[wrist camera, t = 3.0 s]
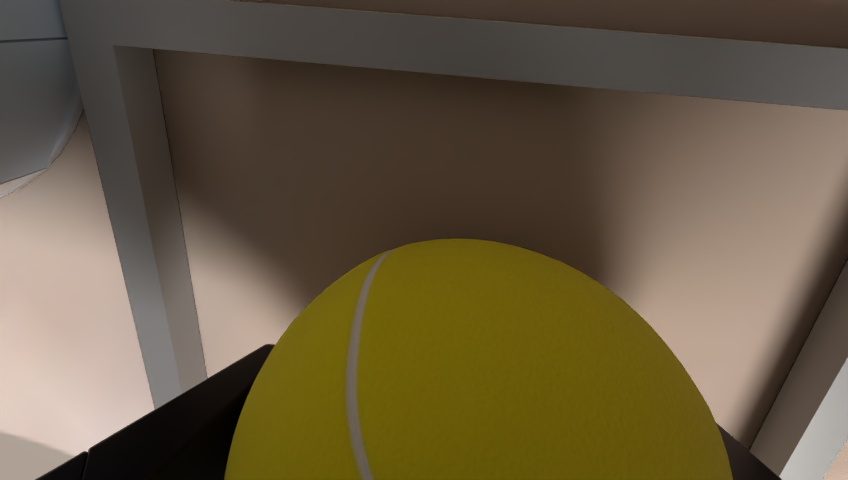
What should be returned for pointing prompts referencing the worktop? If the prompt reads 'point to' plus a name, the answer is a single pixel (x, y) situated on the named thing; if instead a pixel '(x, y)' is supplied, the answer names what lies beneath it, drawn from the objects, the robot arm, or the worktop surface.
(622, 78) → the grey square frame
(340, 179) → the worktop surface
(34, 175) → the bowl
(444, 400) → the tennis ball
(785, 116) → the worktop surface
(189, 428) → the robot arm
